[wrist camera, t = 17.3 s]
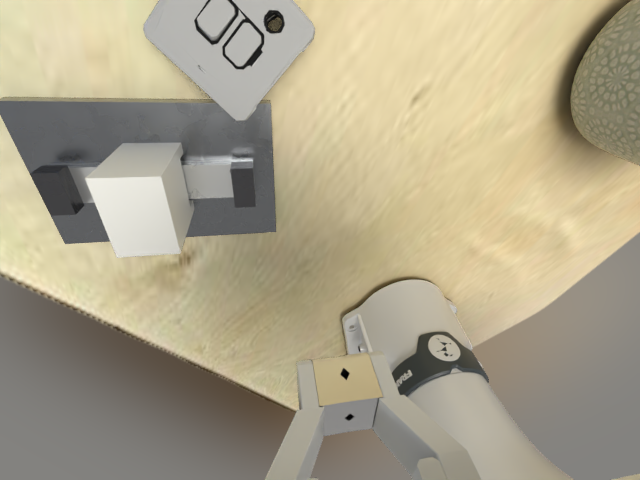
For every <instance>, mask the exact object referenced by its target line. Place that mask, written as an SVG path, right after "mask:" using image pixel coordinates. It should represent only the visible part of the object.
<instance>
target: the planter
mask: <svg viewBox="0 0 640 480" xmlns="http://www.w3.org/2000/svg"><path fill="white" fill-rule="evenodd" d="M571 113H572V118H573V121H574V123H575V125H576V127H577V129H578V131H579V132H580V133H581V135H582V136H583V137H584V138H585V139H586V140H587V141H589V142H590V143H591V144H593V145H594V146H596V147H598V148H600V149H602V150H604V151H606V152H608V153H610V154H612V155H615V156H617V157H620V158H622V159H625V160H627V161H629V162H632V163H634V164H637V165H639V166H640V0H631V1H630V2H628V3H627V4H626V5H625V6H624V7H623V8H621V9H620V10H619V11H618V12H617V13H616V14H615V15H614V16H613V17H612V18H611V19H610V20H609V21H608V22H607V24H606V25H605V26H604V27H603V28H602V29H601V31H600V32H599V33H598V34H597V36H596V37H595V39H594V40H593V41H592V43H591V44H590V46H589V47H588V49H587V51H586V52H585V54H584V56H583V58H582V60H581V62H580V64H579V66H578V69H577V72H576V74H575V77H574V81H573V85H572V90H571Z"/></svg>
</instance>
